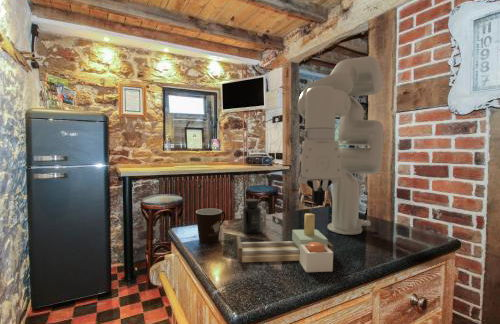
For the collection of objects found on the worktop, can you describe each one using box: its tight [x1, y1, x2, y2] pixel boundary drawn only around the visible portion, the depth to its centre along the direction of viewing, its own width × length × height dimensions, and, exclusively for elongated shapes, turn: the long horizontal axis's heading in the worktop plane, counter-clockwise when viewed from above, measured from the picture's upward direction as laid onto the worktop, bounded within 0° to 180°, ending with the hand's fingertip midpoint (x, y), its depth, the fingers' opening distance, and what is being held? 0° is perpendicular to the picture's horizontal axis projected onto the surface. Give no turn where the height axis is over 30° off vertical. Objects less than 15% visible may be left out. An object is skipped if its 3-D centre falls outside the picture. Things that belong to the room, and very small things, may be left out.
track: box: [236, 235, 334, 263], centre depth 82 cm, size 27×10×4 cm, turn 96°
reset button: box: [308, 242, 324, 252], centre depth 73 cm, size 4×4×3 cm
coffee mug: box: [195, 207, 226, 245], centre depth 92 cm, size 12×9×10 cm
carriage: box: [291, 212, 329, 249], centre depth 82 cm, size 8×9×9 cm
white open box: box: [299, 244, 334, 273], centre depth 73 cm, size 7×6×5 cm
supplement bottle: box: [242, 198, 262, 235], centre depth 102 cm, size 7×7×12 cm
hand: (318, 204), depth 73 cm, fingers closed
